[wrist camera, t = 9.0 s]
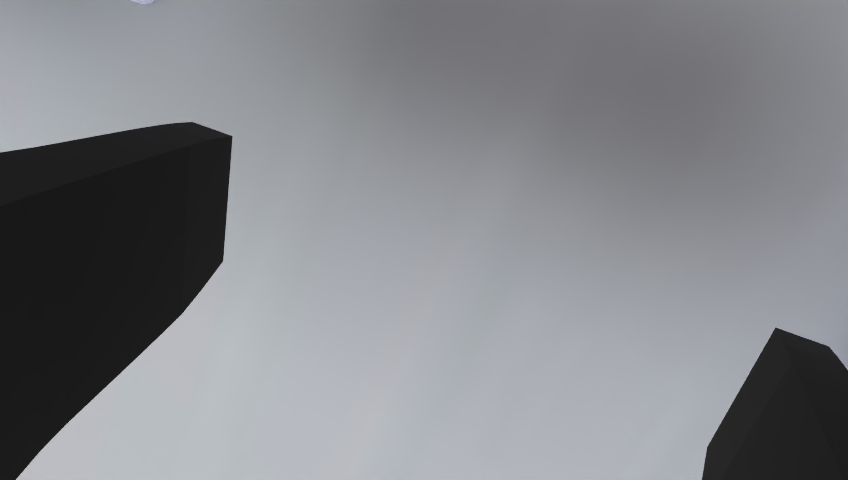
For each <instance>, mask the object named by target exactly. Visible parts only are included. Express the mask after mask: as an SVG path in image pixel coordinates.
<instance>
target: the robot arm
mask: <svg viewBox="0 0 848 480" xmlns="http://www.w3.org/2000/svg"><path fill="white" fill-rule="evenodd" d="M130 1H133V2H136V3H139V4H150V3H152V2H155V1H157V0H130ZM231 147H232V136H230V135H227V134H225V133H222V132H219V131H216V130H213V129H210V128H208V127H205V126H202V125H199V124H196V123H193V122H187V123H173V124H165V125H158V126H151V127H145V128H139V129H133V130H127V131H122V132H116V133H111V134H105V135H100V136H94V137H89V138H84V139H78V140H73V141H67V142H62V143H56V144H51V145H45V146H40V147H34V148H27V149H21V150H14V151H8V152H1V153H0V480H16V479H17V477H18V476H19V475H20V474H21V473H22V472H23V470H24V469H25V468H26V467H27V466H28V465H29V463H30V462H31V461H32V460H33V459H34V458H35V456H36V455H37V454H38V453H39V452H40V451H41V450H42V449H43V448H44V446H45V445H46V444H47V443H48V442H49V441H50V440H51V439H52V438H53V437H54V436H55V435H56V434H57V433H58V432H59V431H60V430H61V429H62V428H63V427H64V426H65V425H66V424H67V423H68V422H69V421H70V420H71V419H72V418H73V417H74V416H75V415H76V414H77V413H79V412H80V411H81V410H82V409H83V408H84V407H85V406H86V405H87V404H88V403H89V402H90V401H91V400H92V399H93V398H94V397H95V396H97V395H98V394H99V393H100V392H101V391H102V390H103V389H104V388H105V387H106V386H107V385H108V384H109V383H110V382H111V381H112V380H113V379H115V378H116V377H117V376H118V375H119V374H120V373H121V372H122V371H123V370H124V369H125V368H126V367H127V366H128V365H129V364H130V363H131V362H133V361H134V360H135V359H136V358H137V357H138V356H139V355H140V354H141V353H142V352H143V351H144V350H145V349H146V348H147V347H148V346H149V345H150V344H151V343H152V342H154V341H155V340H156V339H157V338H158V337H159V336H160V335H161V334H162V333H163V332H164V331H165V330H166V329H167V328H168V327H169V326H170V325H171V324H172V323H173V322H174V321H175V320H176V319H177V318H178V317H179V316H180V315H181V314H182V313H183V312H184V311H185V309H186V308H187V307H188V306H189V304H190V303H191V302H192V301H193V300H194V298H195V297H196V296H197V295H198V293H199V292H200V291H201V290H202V288H203V287H204V286H205V284H206V283H207V282H208V280H209V279H210V278H211V276H212V275H213V274H214V272H215V271H216V270H217V268H218V267H219V266H220V264H221V263H222V262H223V254H224V241H225V227H226V214H227V201H228V187H229V174H230V161H231ZM702 480H848V370H847V369H846V367H845V366H844V365H843V363H842V362H841V361H840V360H839V358H838V357H837V356H836V355H835V353H834V352H833V351H832V350H831V349H830V347H829V346H826V345H823V344H820V343H817V342H815V341H812V340H809V339H806V338H803V337H800V336H798V335H795V334H792V333H789V332H786V331H783V330H781V329H778V328H775V330H774V331H773V333H772V335H771V337H770V338H769V340H768V342H767V344H766V345H765V347H764V349H763V351H762V352H761V354H760V356H759V358H758V359H757V361H756V363H755V365H754V366H753V368H752V370H751V372H750V373H749V375H748V377H747V379H746V380H745V382H744V384H743V386H742V387H741V389H740V391H739V393H738V394H737V396H736V398H735V400H734V401H733V403H732V405H731V407H730V408H729V410H728V412H727V414H726V415H725V417H724V419H723V421H722V422H721V424H720V426H719V428H718V429H717V431H716V433H715V435H714V436H713V438H712V440H711V442H710V443H709V445H708V447H707V453H706V459H705V465H704V471H703V477H702Z"/></svg>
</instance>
